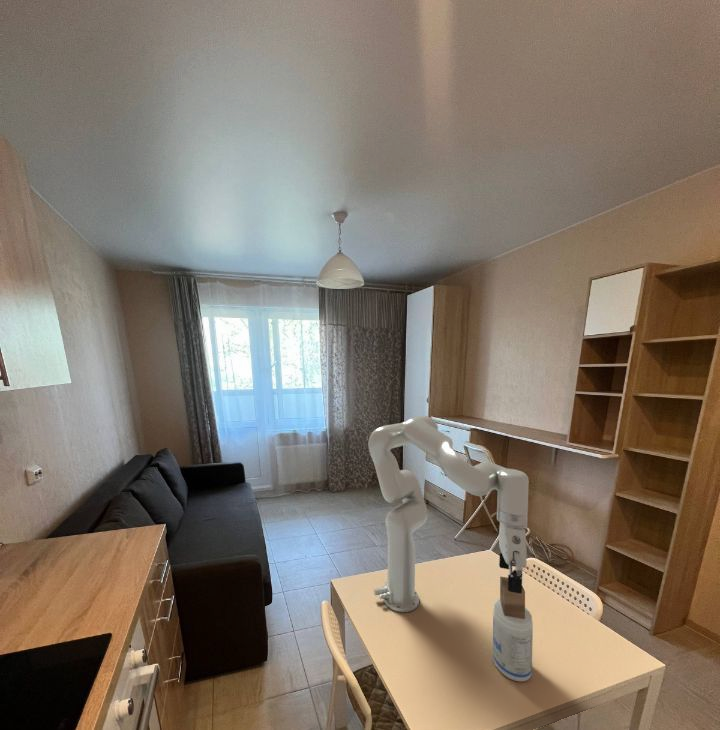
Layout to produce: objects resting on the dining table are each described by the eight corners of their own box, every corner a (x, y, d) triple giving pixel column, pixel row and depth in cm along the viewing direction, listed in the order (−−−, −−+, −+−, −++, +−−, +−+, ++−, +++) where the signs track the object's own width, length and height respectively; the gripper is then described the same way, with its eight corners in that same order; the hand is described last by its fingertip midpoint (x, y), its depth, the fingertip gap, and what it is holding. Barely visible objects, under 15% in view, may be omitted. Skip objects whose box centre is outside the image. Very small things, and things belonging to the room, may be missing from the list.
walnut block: (525, 619, 80) (525, 591, 80) (504, 615, 81) (504, 588, 81) (519, 605, 85) (519, 579, 85) (500, 601, 86) (500, 576, 86)
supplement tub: (486, 651, 87) (486, 598, 87) (517, 649, 87) (517, 596, 88) (505, 686, 77) (505, 625, 77) (541, 683, 78) (540, 623, 78)
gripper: (537, 534, 75) (535, 605, 74) (517, 505, 91) (515, 562, 91) (504, 529, 76) (502, 599, 76) (490, 501, 93) (489, 558, 93)
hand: (509, 579), depth 83 cm, fingers open, 9 cm apart
